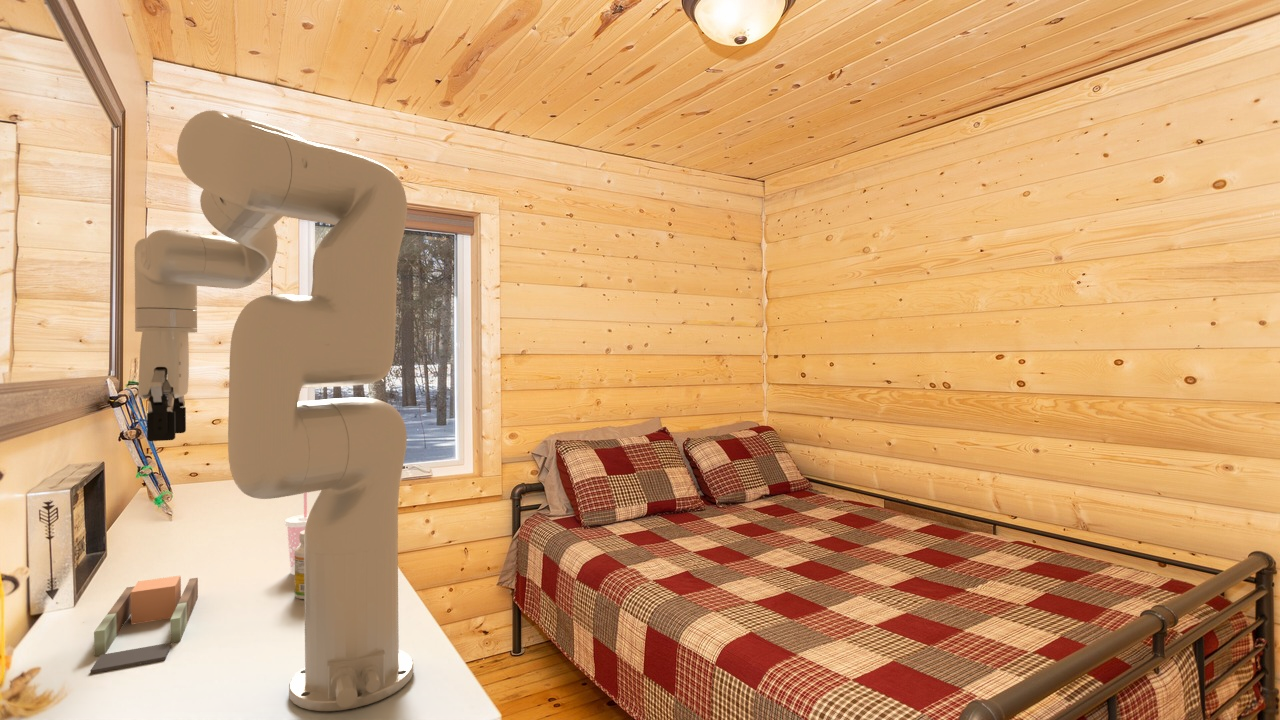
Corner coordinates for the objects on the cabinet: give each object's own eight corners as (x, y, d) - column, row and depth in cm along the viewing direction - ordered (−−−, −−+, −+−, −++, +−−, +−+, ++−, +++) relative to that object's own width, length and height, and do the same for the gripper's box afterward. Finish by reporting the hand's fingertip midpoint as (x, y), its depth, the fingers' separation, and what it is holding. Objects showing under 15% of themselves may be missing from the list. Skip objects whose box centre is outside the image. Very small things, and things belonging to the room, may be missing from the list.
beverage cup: (325, 573, 109) (325, 490, 109) (284, 578, 107) (283, 493, 107) (325, 562, 115) (325, 484, 115) (286, 568, 112) (285, 487, 112)
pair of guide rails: (180, 641, 83) (179, 617, 83) (94, 656, 79) (94, 631, 79) (197, 597, 99) (197, 577, 99) (126, 608, 95) (126, 587, 94)
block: (175, 617, 91) (175, 585, 91) (131, 625, 89) (130, 592, 89) (181, 606, 96) (180, 575, 96) (138, 612, 93) (138, 581, 93)
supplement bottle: (326, 585, 104) (326, 524, 104) (339, 593, 100) (338, 530, 100) (290, 593, 100) (289, 530, 100) (301, 603, 96) (300, 537, 96)
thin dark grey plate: (165, 660, 78) (165, 656, 78) (90, 673, 75) (90, 670, 75) (171, 645, 82) (171, 642, 82) (100, 658, 79) (100, 654, 79)
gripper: (147, 324, 103) (148, 432, 103) (121, 318, 88) (122, 445, 88) (204, 325, 106) (205, 429, 106) (188, 320, 91) (189, 441, 91)
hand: (167, 436), depth 97 cm, fingers open, 9 cm apart
